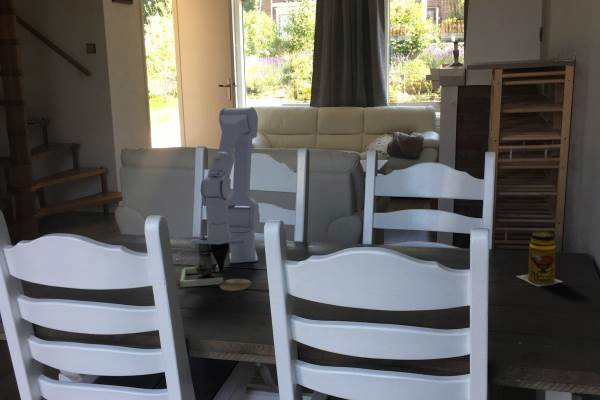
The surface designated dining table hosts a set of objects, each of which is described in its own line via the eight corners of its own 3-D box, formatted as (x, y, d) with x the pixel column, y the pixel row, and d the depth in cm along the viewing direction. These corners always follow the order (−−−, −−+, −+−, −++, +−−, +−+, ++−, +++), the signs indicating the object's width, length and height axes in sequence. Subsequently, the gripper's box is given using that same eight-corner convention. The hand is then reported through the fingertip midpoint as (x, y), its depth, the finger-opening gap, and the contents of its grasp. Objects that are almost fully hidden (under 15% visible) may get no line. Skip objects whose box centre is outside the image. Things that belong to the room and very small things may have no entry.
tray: (183, 273, 167) (182, 268, 167) (223, 270, 169) (222, 265, 168) (180, 287, 156) (180, 281, 156) (223, 283, 157) (223, 278, 157)
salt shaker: (213, 282, 159) (210, 237, 157) (192, 281, 160) (188, 237, 158) (220, 274, 165) (217, 232, 162) (200, 274, 166) (197, 231, 163)
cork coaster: (219, 281, 159) (219, 280, 159) (250, 279, 160) (250, 277, 160) (219, 292, 151) (219, 290, 151) (251, 289, 152) (251, 287, 152)
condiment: (539, 287, 146) (541, 239, 143) (515, 276, 154) (517, 231, 151) (563, 282, 148) (565, 235, 146) (538, 272, 156) (540, 227, 154)
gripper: (189, 227, 155) (193, 278, 158) (246, 223, 157) (249, 273, 160) (190, 221, 162) (194, 269, 165) (244, 217, 164) (247, 265, 166)
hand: (221, 271), depth 163 cm, fingers closed
